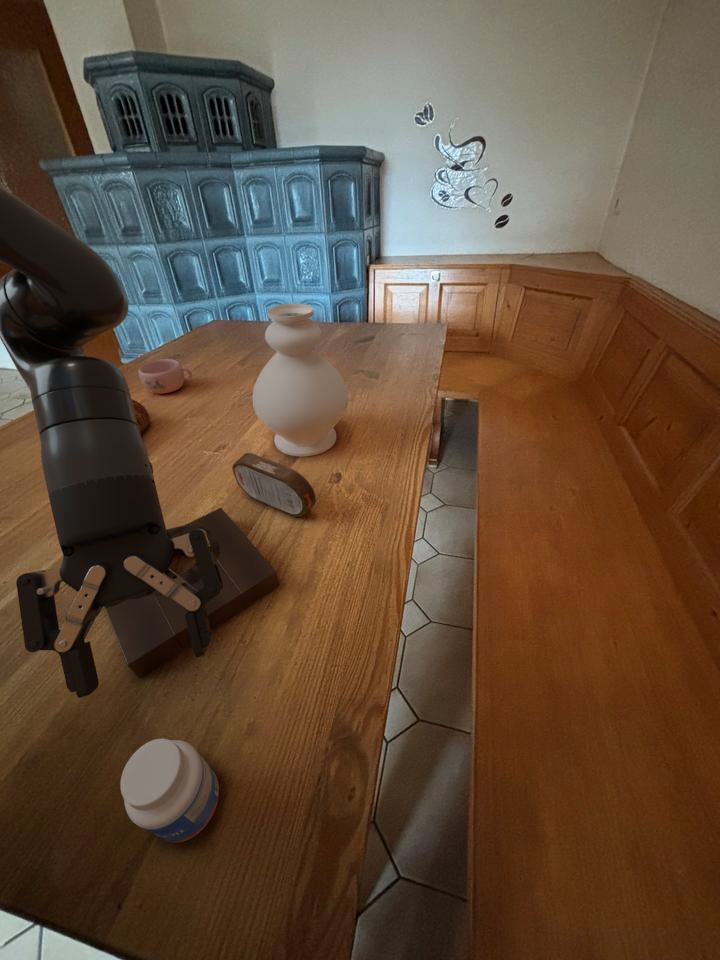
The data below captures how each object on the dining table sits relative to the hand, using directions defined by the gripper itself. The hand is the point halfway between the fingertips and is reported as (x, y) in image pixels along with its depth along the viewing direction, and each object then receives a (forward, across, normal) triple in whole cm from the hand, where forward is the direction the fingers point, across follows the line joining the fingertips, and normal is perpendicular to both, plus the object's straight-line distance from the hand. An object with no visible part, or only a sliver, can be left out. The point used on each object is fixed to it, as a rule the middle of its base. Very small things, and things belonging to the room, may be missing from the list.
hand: (147, 672), depth 32 cm
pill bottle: (+13, 0, +3) cm, 13 cm away
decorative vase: (-24, +25, +40) cm, 53 cm away
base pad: (-4, +1, +20) cm, 20 cm away
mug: (-50, -1, +65) cm, 82 cm away
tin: (-12, +15, +28) cm, 34 cm away
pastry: (-36, -11, +52) cm, 65 cm away
